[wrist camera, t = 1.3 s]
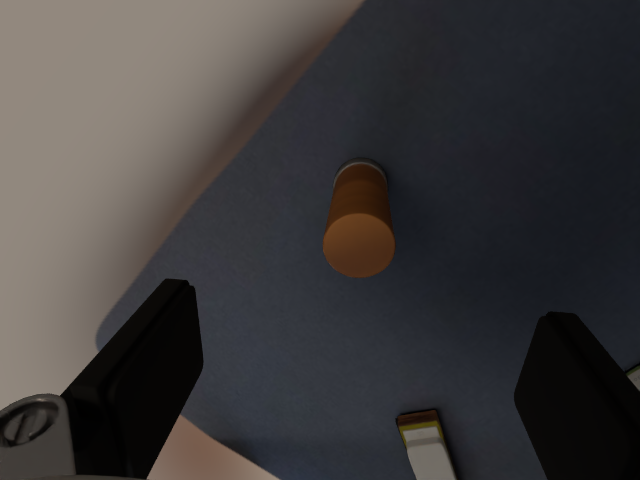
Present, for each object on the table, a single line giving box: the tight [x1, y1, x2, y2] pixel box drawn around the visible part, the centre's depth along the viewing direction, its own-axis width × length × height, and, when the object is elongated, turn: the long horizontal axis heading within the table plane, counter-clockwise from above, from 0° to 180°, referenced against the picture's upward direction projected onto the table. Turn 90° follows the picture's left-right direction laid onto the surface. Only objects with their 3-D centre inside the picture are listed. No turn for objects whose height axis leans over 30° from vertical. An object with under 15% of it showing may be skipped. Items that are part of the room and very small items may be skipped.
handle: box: [323, 158, 396, 278], centre depth 19 cm, size 3×3×8 cm
